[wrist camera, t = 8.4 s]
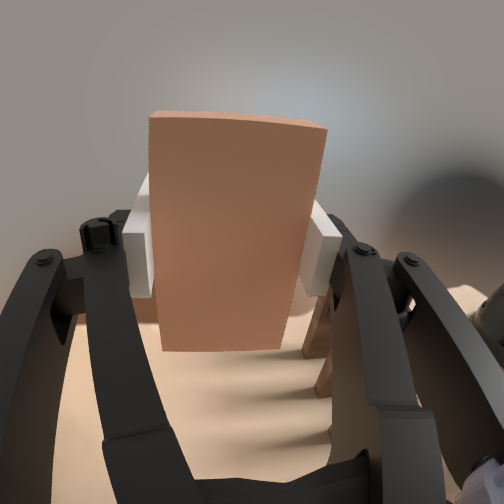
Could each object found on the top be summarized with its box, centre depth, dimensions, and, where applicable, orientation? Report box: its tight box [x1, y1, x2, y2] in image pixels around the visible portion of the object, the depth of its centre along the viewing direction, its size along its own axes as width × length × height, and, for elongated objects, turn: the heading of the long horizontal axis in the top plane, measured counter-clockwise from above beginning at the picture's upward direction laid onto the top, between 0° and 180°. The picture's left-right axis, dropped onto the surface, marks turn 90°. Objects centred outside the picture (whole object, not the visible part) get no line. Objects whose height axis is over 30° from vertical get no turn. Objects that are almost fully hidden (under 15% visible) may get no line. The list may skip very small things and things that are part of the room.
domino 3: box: [314, 347, 332, 398], centre depth 29 cm, size 2×6×11 cm, turn 98°
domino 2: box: [302, 284, 333, 359], centre depth 33 cm, size 2×6×11 cm, turn 98°
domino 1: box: [149, 111, 328, 352], centre depth 13 cm, size 2×6×11 cm, turn 98°
